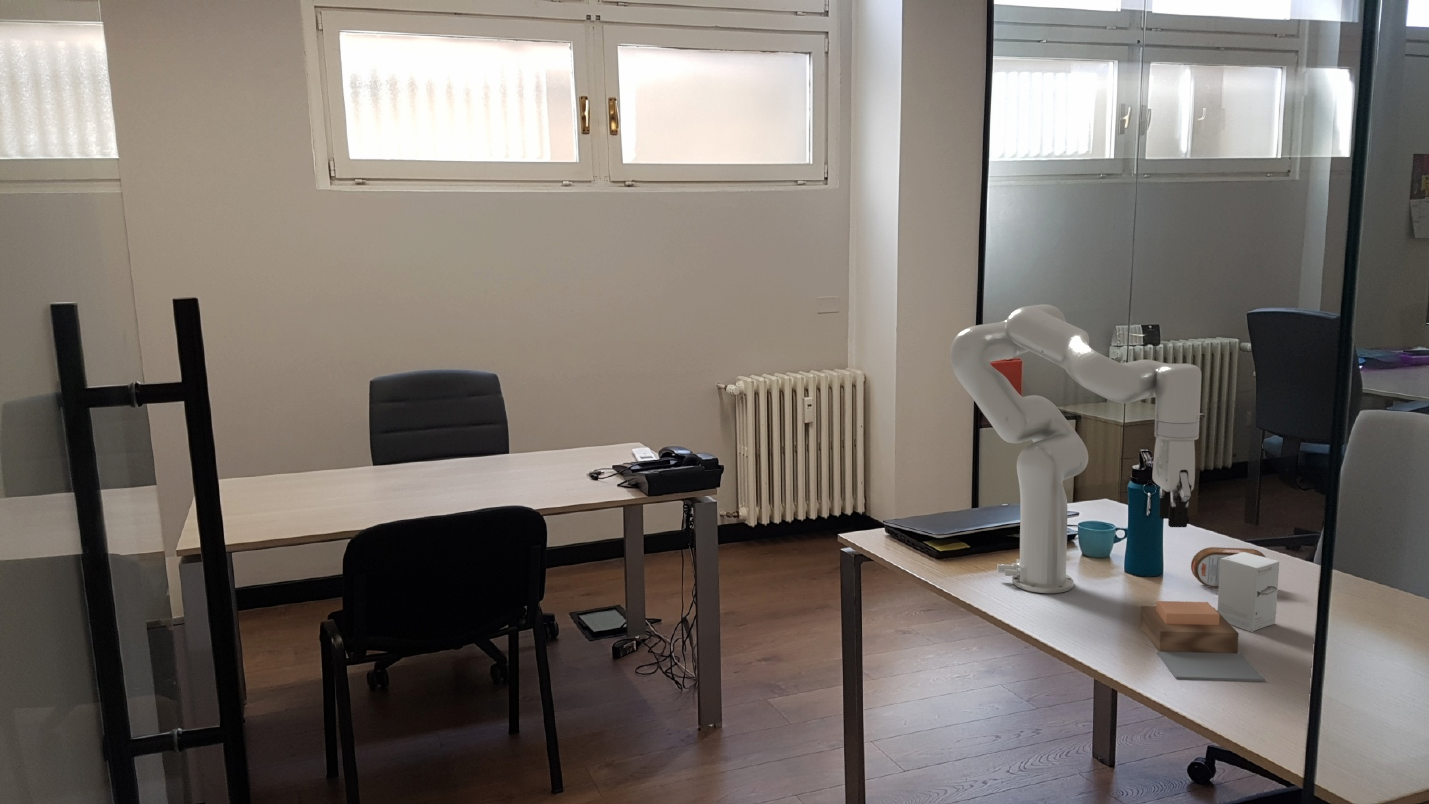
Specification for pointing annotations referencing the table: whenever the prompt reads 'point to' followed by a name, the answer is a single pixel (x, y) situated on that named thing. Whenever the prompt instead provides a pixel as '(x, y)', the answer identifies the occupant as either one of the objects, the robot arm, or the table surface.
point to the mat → (1210, 666)
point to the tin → (1214, 563)
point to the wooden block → (1188, 634)
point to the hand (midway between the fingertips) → (1172, 521)
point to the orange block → (1187, 613)
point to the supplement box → (1248, 590)
